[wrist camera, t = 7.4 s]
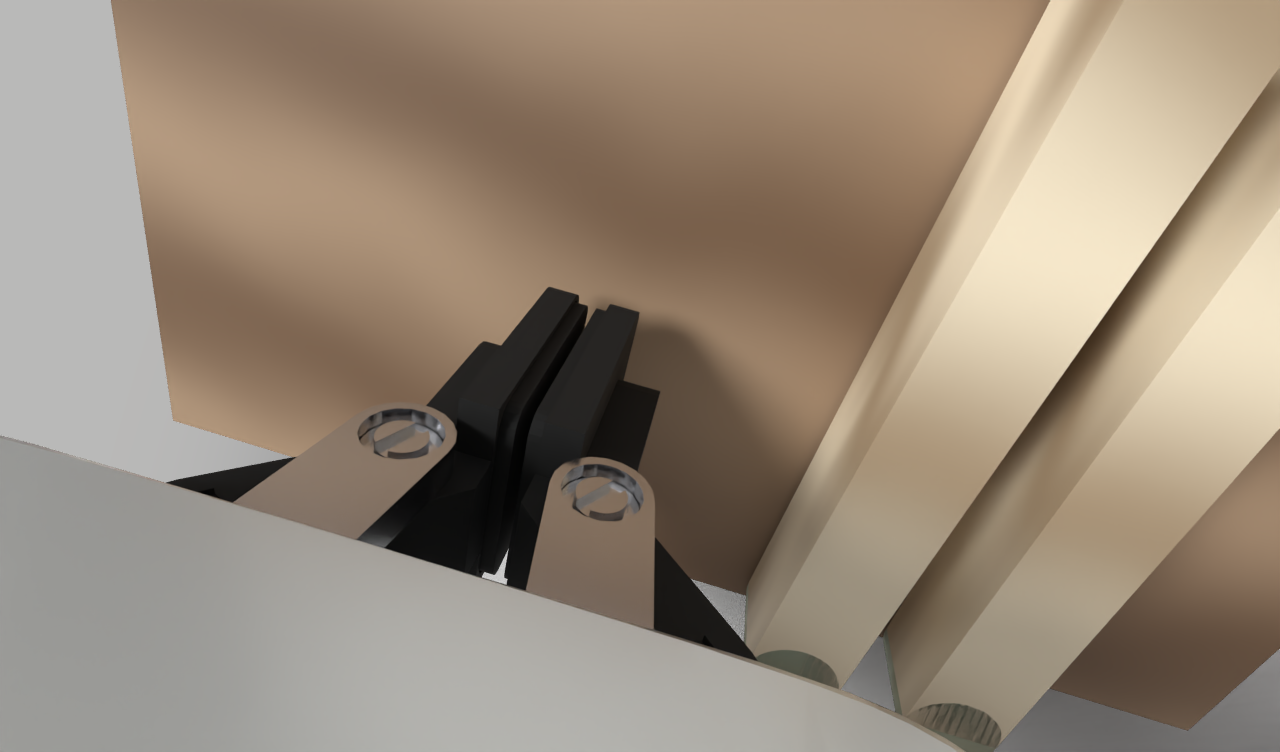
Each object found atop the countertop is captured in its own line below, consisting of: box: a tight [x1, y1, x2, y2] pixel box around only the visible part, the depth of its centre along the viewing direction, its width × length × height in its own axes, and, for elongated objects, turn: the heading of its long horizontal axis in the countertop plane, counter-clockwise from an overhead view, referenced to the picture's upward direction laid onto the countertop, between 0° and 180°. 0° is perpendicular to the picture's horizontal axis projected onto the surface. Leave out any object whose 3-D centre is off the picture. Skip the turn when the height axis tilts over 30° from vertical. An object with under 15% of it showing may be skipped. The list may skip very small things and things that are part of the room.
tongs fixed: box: [883, 67, 1280, 752], centre depth 10 cm, size 16×3×3 cm, turn 167°
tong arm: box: [744, 0, 1280, 690], centre depth 10 cm, size 17×4×2 cm, turn 164°
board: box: [111, 0, 1280, 731], centre depth 12 cm, size 17×24×2 cm
